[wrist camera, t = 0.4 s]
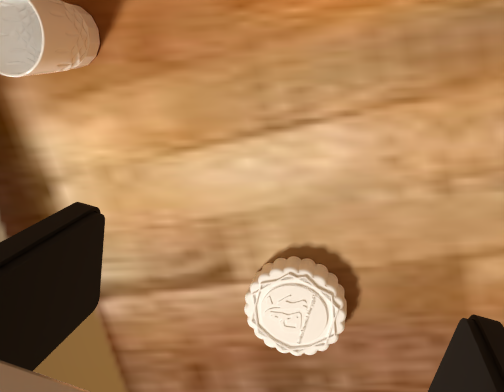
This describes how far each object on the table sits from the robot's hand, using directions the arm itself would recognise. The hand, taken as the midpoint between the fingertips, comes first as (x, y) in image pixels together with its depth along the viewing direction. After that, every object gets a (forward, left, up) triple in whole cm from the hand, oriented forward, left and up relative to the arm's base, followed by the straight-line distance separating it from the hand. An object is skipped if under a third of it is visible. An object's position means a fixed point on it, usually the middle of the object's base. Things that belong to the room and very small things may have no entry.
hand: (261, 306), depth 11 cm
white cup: (-1, -30, -36) cm, 47 cm away
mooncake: (+22, +3, -36) cm, 43 cm away
